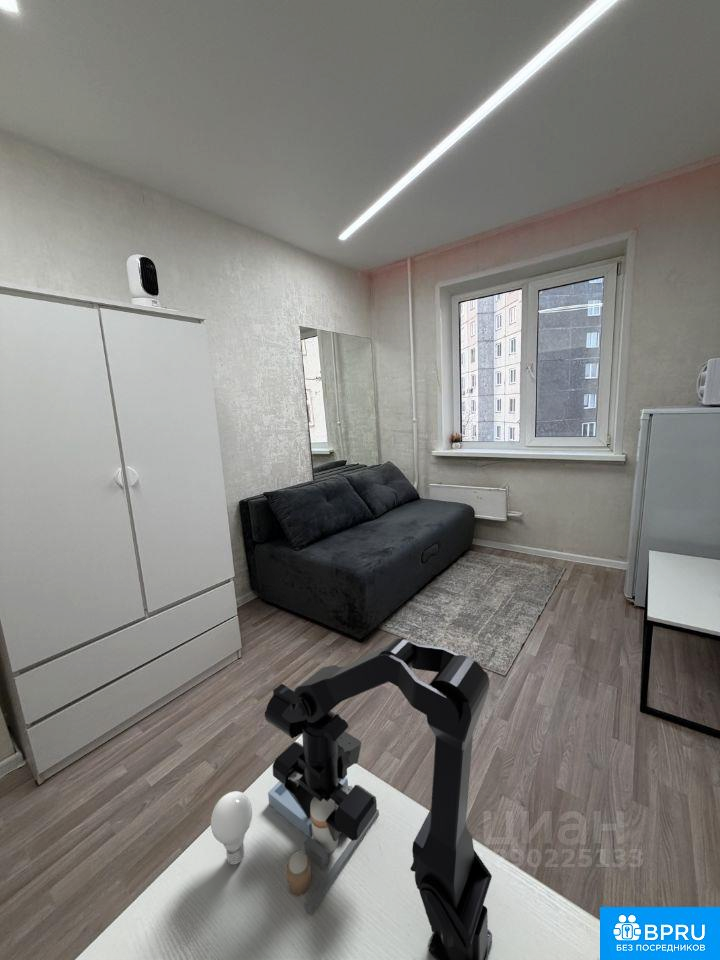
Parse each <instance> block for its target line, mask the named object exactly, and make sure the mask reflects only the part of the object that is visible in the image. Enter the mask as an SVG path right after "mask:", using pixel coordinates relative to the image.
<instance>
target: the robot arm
mask: <svg viewBox="0 0 720 960" xmlns="http://www.w3.org/2000/svg"><path fill="white" fill-rule="evenodd" d="M411 669H414V670H419V671H426V672H435V673H436V675H435V676H434V678H433V679H432V680H431V681H430V683H429V684H427V683H426V682H423V681H421V680H420V679H418V677H417V676H416V675H415V674H414V672H413V671H412V670H411ZM387 683H391V684H393V685H394V686H397V687H398V688H399V691H400V692H401V693H402V695H403V696H404V698H406V700H407V701H408V703H409V704H410V706H411V707H412V708H414V709H415V710H417V711H419V712H420V713H422V714H424V715H425V716H426V722H427V724H428V727H429V728H430V729H431V732H433V735H434V737H435V738H434V739H435V742H434V757H433V773H432V787H431V789H432V790H431V791H432V792H431V806H430V809H429V812H428V813H427V816H426V817H425V819H424V821H423V823H422V825H421V827H420V829H419V830H418V833H417V834H416V836H415V839H414V840H413V842H412V849H411V850H412V859H413V862H412V863H411V866H410V871H411V872H414V881H415V885H416V888H417V889H418V891H419V894H420V899H421V902H422V903H423V907H424V911H425V914H426V916H427V919H428V922H429V925H430V928H431V933H432V932H433V935H432V937H431V940H430V943H429V944H428V952H429V955H430V956H432V957H433V958H434V959H435V960H487V957H488V955H489V952H490V948H491V945H492V941H493V933H492V932H491V931H490V929H488V927H489V926H488V921H489V919H488V915H489V914H488V908H487V906H485V905H484V904H485V901H486V897H487V894H488V892H489V891H488V890H489V889H490V888H489V887H490V885H491V882H492V878H493V875H492V873H491V872H490V870H489V869H488V868H487V867H486V865H485V863H484V862H483V861H482V858H481V857H480V855H478V853H477V851H476V850H475V849H474V841H473V835H472V833H471V831H470V830H469V829H468V827H467V814H468V802H469V801H468V798H469V790H470V789H469V788H470V785H469V784H470V776H471V775H470V774H471V763H472V752H473V751H472V750H473V741H474V739H473V738H474V733H475V732H474V731H475V730H476V726H477V723H478V721H479V718H480V716H481V714H482V711H483V708H484V705H485V702H486V699H487V696H488V692H489V689H490V685H491V684H490V677H489V675H488V672H487V671H485V670H484V668H483V667H482V665H480V663H478V662H477V661H476V660H475V659H473V658H471V657H469V656H466V655H463V654H460V653H457V652H455V651H452V650H450V649H449V648H446V647H442V646H436V645H435V646H434V645H430V644H420V643H417V642H415V641H413V640H411V639H408V638H406V637H398V638H395V639H394V640H392V641H391V642H390V643H389V644H387V645H384V646H382V647H380V648H379V649H376V650H375V651H373V652H370V653H368V654H366V655H365V656H362V657H360V658H359V659H356V660H353V661H352V662H350V663H347V664H346V665H343V666H339V665H336V664H333V665H327V666H324V667H321V668H320V669H318V670H317V671H316V672H315V673H313V674H312V675H311V676H309V677H308V678H307V679H305V680H304V681H303V682H302V683H301V684H300V685H298V686H297V687H296V688H294V690H292V689H290V688H289V687H288V686H287V685H285V684H284V683H281V684H279V685H278V686H277V687H275V688H274V689H273V690H272V692H273V693H272V694H273V695H272V696H271V697H270V699H269V702H268V704H267V706H266V708H265V709H266V710H265V711H264V718H265V719H264V720H265V721H266V722H267V723H269V724H270V725H272V726H273V727H275V728H276V729H278V730H279V731H281V732H282V733H284V735H286V736H288V737H289V738H291V739H295V738H296V737H298V736H300V735H302V744H301V743H300V742H298V741H294V742H292V743H291V744H290V745H288V747H286V748H285V749H284V750H283V751H282V752H281V753H280V754H279V755H278V756H276V757H275V758H274V761H273V763H272V776H273V777H274V779H276V780H277V781H278V782H279V781H280V782H281V783H283V784H284V783H285V785H284V786H285V788H286V789H287V790H288V792H289V793H290V794H291V796H292V797H293V798H294V800H295V801H296V802H297V804H298V805H299V806H300V808H301V809H302V811H303V812H304V814H305V815H306V816H307V818H308V819H309V818H310V817H311V814H310V804H311V801H312V799H313V798H314V797H316V798H317V799H318V800H319V801H322V799H323V800H324V801H326V802H327V801H328V800H329V799H330V798H331V799H332V800H333V801H335V803H334V806H335V807H336V808H335V809H334V810H333V812H332V813H331V814H330V815H329V817H328V818H327V819H326V823H327V826H328V828H329V831H330V834H331V836H332V838H333V840H334V841H335V842H336V840H337V839H338V838H339V837H340V835H341V834H343V836H345V835H346V836H345V837H347V838H348V839H349V840H350V841H351V840H352V841H353V840H358V838H359V837H360V835H361V834H362V832H363V831H364V829H365V828H366V826H367V825H368V824H369V822H370V821H371V819H372V818H373V816H374V815H375V813H376V812H377V808H378V807H377V806H378V805H377V803H378V802H377V796H375V795H374V794H372V793H371V792H370V791H368V790H366V789H365V787H364V788H363V787H362V786H361V785H360V784H354V785H355V786H354V787H351V785H348V786H347V787H344V786H343V785H342V784H340V783H339V779H342V780H343V779H344V778H345V777H346V778H347V775H348V768H350V767H352V766H353V765H354V764H355V765H356V764H358V763H359V760H360V759H359V758H360V754H361V749H362V741H361V740H359V739H358V738H356V737H355V736H353V735H352V734H349V733H348V732H346V730H347V729H348V728H349V724H348V722H347V721H346V720H345V719H343V718H342V717H341V716H340V714H339V713H335V712H334V711H333V710H334V708H336V707H337V706H338V705H339V704H340V703H342V702H343V701H345V700H348V699H350V698H353V697H355V696H357V695H358V696H359V695H360V694H363V693H365V692H367V691H370V690H372V689H375V688H377V687H381V686H382V685H385V684H387ZM341 832H342V833H341ZM339 839H340V838H339Z"/></svg>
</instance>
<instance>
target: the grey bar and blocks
mask: <svg viewBox="0 0 720 960" xmlns="http://www.w3.org/2000/svg"><path fill="white" fill-rule="evenodd" d="M379 815H380V810H379V809H377V812H376V813H375V815H374V816H373V818H372V819H371V821H370V822H369V824H368V825H367V826H366V828H365V829H364V831H363V832H362V834H361V835H360V837H359V838H358V840H353V841H352V840H351V839H350V841H349V843H348V844H347V845H346V847H345V849H344V850H343V851H342V853H341V854H340V856H339V857H338V859H337V860H336V861H335V863H333V866H332V867H331V868H330V870H329V872H328V873H327V874H326V876H325V877H324V879H323V880H322V881H321V883H320V885H318V887H317V888H316V890H315V891H314V893H313V894H312V896H311V897H310V898H309V900H308V901H307V903H306V905H305V907H304V908H305V911H306V913H307V914H309V916H312V914H313V913H314V911H315V910H316V908H317V907H318V906H319V904H320V903H321V901H322V900H323V898H324V897H325V895H326V894H327V892H328V891H329V889H330V888H331V886H332V885H333V883H334V882H335V881H336V879H337V878H338V876H339V874H340V873H341V872H342V870H343V868H344V867H345V865H346V864H347V863H348V861H349V860H350V858H351V856H352V855H353V854H354V852H355V850H357V847H358V846H359V844H360V843H361V842H362V841H363V839H364V837H365V836H366V834H367V833H368V831H369V830H370V828H371V827H372V825H373V824H374V822H375V821H376V819H377V818H378V816H379ZM340 834H343V833H342V832H341V833H340ZM344 836H345V837H347V836H346V835H344ZM303 849H304V851H303V852H305V853H306V854H307V855H308V856H309V858H310V862H311V863H312V864H314V865H315V866H316V867H317V868H318V869H320V870H321V871H322V872H323V871H325V869H326V868H327V866H328V865H329V861H328V860H329V859H328V854H327V850H325V849H324V848H323V847H322V846H321V845H319V844H318V843H317V842H316V841H315V840H313V838H312V836H311V837H310V836H306V839H305V840H304V841H303Z"/></svg>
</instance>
